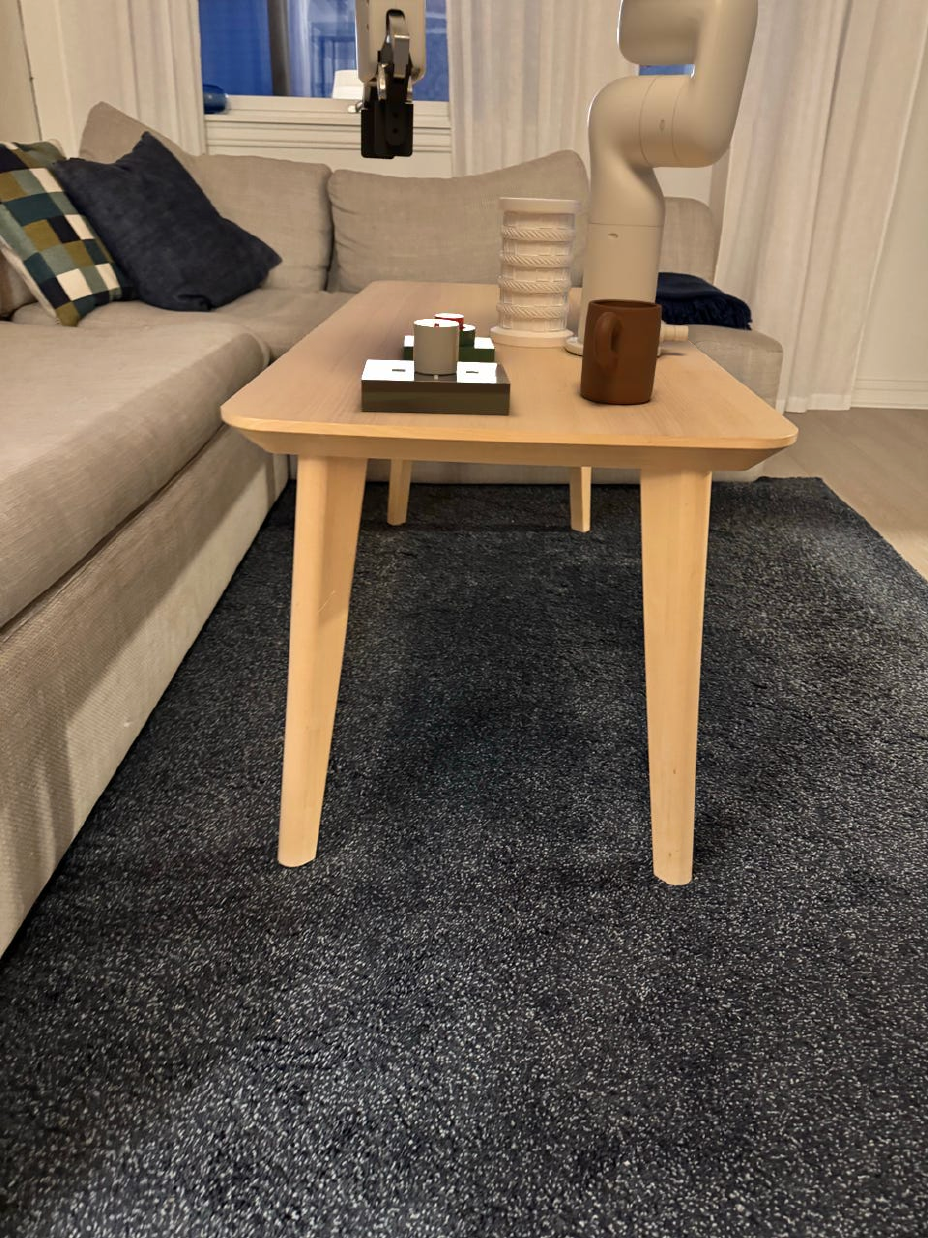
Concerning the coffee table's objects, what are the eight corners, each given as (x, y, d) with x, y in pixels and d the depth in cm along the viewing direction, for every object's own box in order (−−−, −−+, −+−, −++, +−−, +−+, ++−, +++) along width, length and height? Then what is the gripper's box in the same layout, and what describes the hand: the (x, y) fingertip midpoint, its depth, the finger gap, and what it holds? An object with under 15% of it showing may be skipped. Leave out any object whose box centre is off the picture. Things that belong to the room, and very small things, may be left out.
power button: (462, 328, 114) (463, 314, 114) (464, 332, 111) (464, 318, 110) (434, 327, 114) (434, 313, 113) (434, 332, 111) (434, 317, 110)
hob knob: (413, 365, 91) (413, 315, 89) (457, 366, 91) (458, 317, 89) (413, 374, 87) (413, 322, 85) (458, 375, 87) (460, 323, 85)
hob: (500, 392, 95) (502, 361, 94) (509, 415, 86) (510, 381, 85) (367, 389, 95) (367, 358, 93) (361, 411, 86) (361, 377, 84)
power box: (489, 351, 118) (491, 323, 116) (494, 362, 111) (495, 333, 109) (405, 349, 117) (405, 320, 116) (403, 360, 110) (404, 330, 109)
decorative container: (582, 338, 130) (594, 200, 122) (558, 350, 120) (570, 201, 113) (506, 331, 134) (513, 197, 126) (477, 342, 124) (483, 197, 116)
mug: (631, 418, 87) (643, 315, 83) (555, 408, 90) (563, 308, 86) (659, 395, 97) (671, 302, 93) (590, 386, 100) (599, 296, 95)
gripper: (453, -100, 68) (445, 157, 75) (414, -48, 83) (410, 161, 90) (353, -112, 66) (354, 152, 73) (331, -57, 81) (334, 157, 89)
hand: (385, 157), depth 82 cm, fingers open, 9 cm apart
